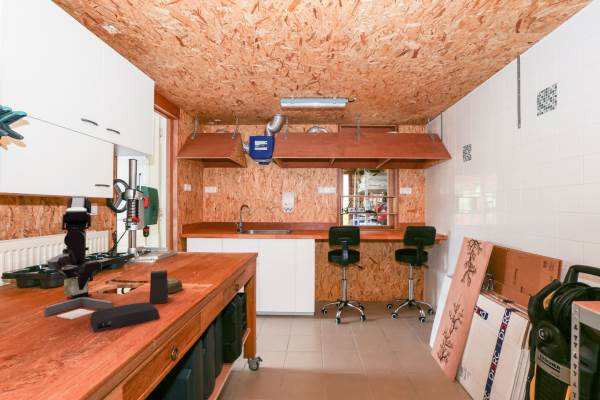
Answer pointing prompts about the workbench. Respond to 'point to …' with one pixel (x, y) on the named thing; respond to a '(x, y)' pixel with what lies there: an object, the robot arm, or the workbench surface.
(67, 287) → the cube
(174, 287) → the weight
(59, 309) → the l-shaped corner bracket
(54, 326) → the workbench surface
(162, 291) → the phone stand
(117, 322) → the external hard drive
